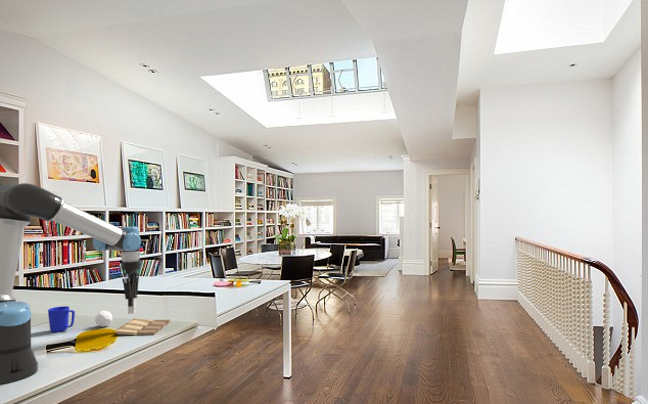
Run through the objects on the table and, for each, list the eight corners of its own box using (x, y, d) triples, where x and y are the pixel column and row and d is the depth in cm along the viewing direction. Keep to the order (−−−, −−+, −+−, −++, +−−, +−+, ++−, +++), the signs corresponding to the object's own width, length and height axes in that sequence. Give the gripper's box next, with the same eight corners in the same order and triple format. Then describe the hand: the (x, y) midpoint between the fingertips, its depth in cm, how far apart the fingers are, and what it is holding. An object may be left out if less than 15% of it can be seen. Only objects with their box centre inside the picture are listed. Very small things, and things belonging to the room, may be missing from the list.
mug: (67, 333, 188) (66, 311, 188) (43, 332, 191) (43, 310, 191) (81, 328, 196) (80, 306, 196) (58, 327, 199) (58, 306, 199)
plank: (135, 335, 183) (135, 332, 183) (114, 333, 183) (114, 330, 183) (153, 322, 203) (153, 319, 203) (133, 321, 203) (134, 318, 203)
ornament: (93, 329, 194) (89, 313, 198) (105, 330, 201) (101, 315, 204) (105, 321, 194) (102, 305, 197) (117, 323, 200) (113, 308, 204)
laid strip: (154, 334, 184) (154, 331, 184) (136, 335, 183) (136, 332, 183) (170, 322, 204) (169, 319, 204) (154, 322, 203) (154, 319, 203)
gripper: (133, 262, 187) (134, 316, 187) (144, 258, 200) (145, 309, 200) (115, 262, 187) (116, 317, 187) (128, 259, 200) (129, 309, 200)
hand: (131, 313), depth 193 cm, fingers closed
